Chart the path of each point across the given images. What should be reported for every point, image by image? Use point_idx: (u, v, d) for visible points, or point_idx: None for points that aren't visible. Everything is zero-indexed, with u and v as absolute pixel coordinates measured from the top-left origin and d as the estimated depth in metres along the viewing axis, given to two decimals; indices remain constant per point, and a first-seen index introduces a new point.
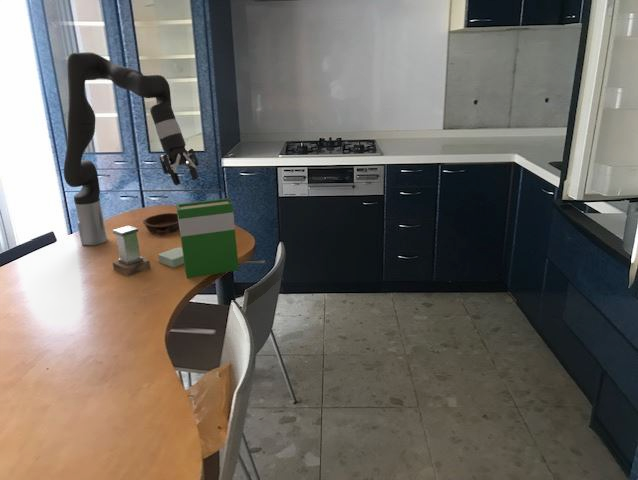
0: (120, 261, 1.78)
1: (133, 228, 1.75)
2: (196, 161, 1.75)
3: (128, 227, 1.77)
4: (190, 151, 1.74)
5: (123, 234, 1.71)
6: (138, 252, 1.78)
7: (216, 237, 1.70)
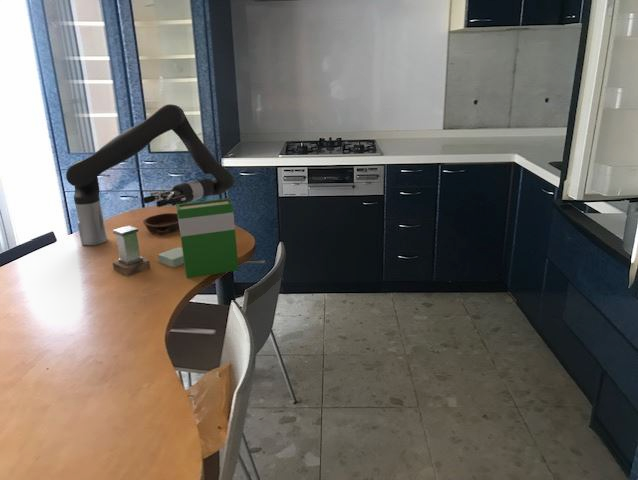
0: (120, 261, 1.78)
1: (133, 228, 1.75)
2: None
3: (128, 227, 1.77)
4: None
5: (123, 234, 1.71)
6: (138, 252, 1.78)
7: (216, 237, 1.70)
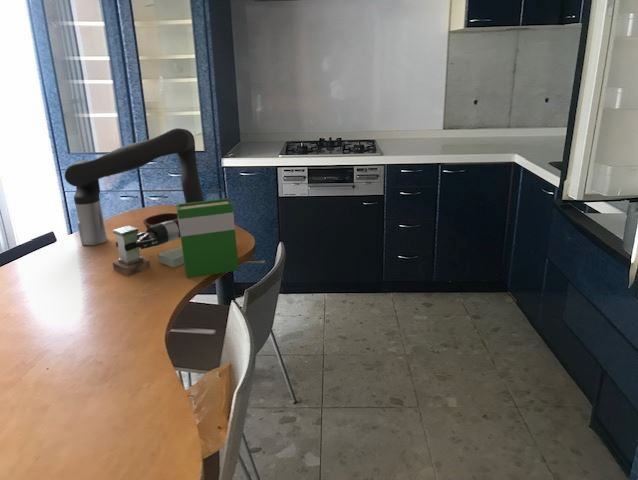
0: (120, 261, 1.78)
1: (133, 228, 1.75)
2: None
3: (128, 227, 1.77)
4: None
5: (123, 234, 1.71)
6: (138, 252, 1.78)
7: (216, 237, 1.70)
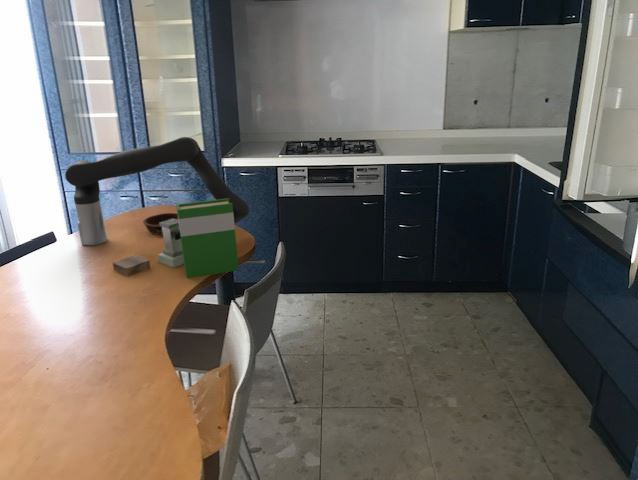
0: (165, 253, 1.84)
1: None
2: None
3: (173, 220, 1.83)
4: None
5: (170, 226, 1.77)
6: None
7: (216, 237, 1.70)
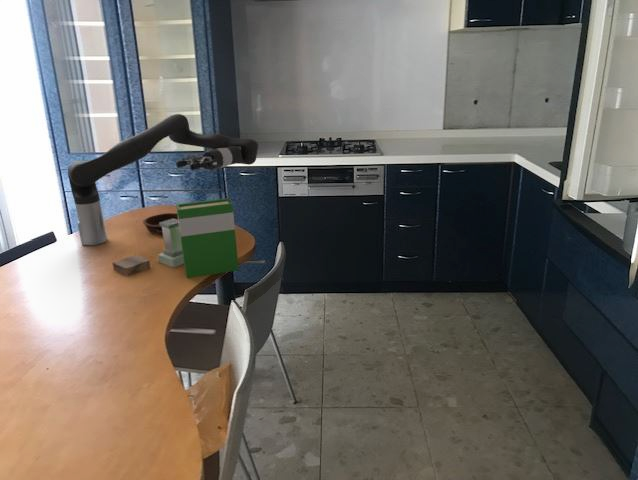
0: (165, 253, 1.84)
1: None
2: None
3: (173, 220, 1.83)
4: None
5: (170, 226, 1.77)
6: None
7: (216, 237, 1.70)
